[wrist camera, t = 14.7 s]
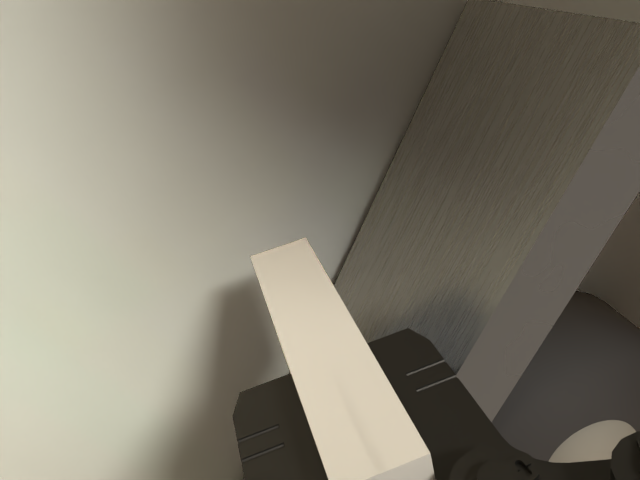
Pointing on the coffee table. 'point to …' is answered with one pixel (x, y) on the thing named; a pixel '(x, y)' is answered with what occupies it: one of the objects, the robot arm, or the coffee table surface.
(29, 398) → the coffee table surface
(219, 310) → the coffee table surface
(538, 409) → the coil
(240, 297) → the coffee table surface
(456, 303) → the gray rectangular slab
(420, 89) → the coffee table surface
